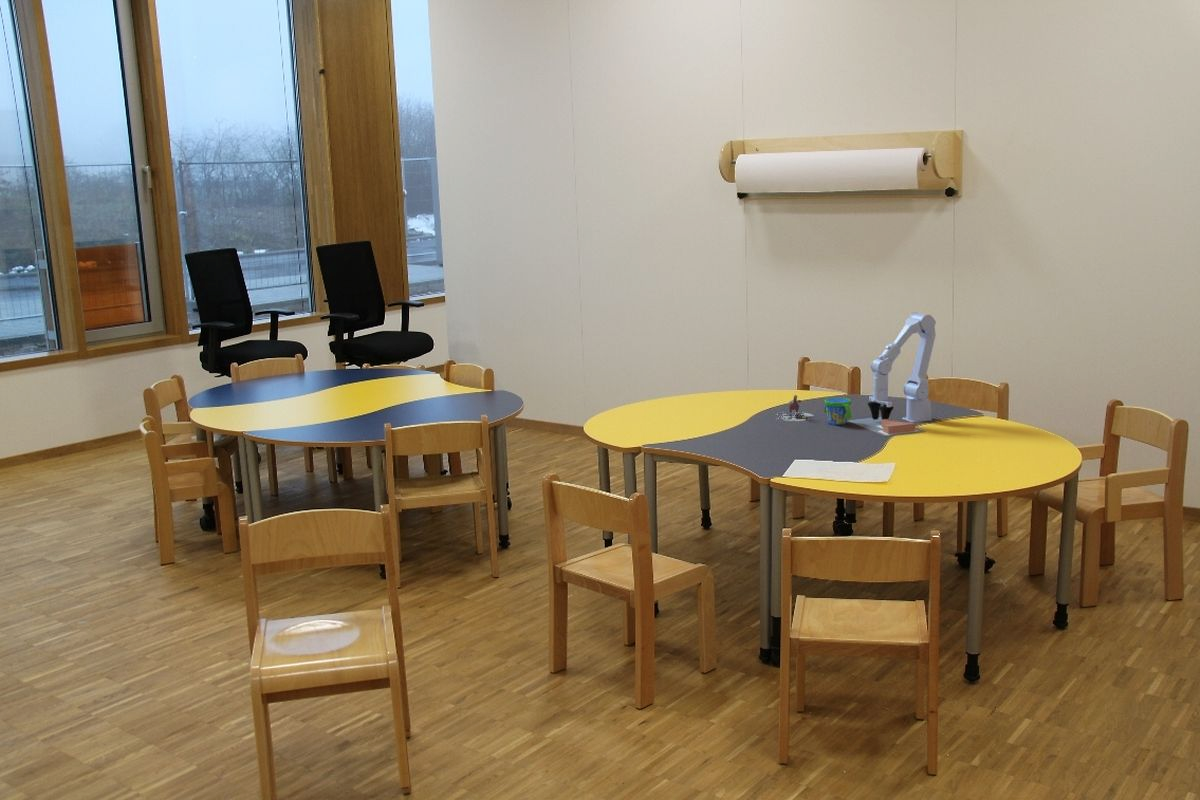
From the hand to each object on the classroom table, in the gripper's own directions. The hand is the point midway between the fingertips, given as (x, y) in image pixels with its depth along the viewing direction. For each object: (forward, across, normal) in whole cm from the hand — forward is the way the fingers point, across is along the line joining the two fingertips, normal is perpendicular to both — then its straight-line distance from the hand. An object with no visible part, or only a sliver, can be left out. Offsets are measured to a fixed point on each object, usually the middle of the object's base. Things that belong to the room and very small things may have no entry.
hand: (880, 421), depth 461 cm
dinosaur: (+2, -29, -24) cm, 38 cm away
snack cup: (+2, -8, -15) cm, 17 cm away
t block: (+1, +12, 0) cm, 12 cm away
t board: (+1, +4, 0) cm, 4 cm away
